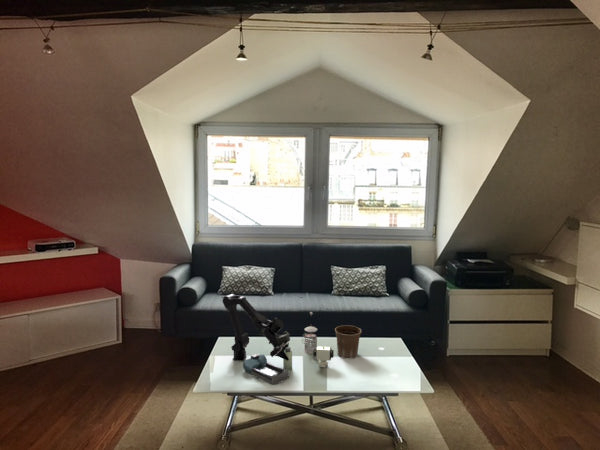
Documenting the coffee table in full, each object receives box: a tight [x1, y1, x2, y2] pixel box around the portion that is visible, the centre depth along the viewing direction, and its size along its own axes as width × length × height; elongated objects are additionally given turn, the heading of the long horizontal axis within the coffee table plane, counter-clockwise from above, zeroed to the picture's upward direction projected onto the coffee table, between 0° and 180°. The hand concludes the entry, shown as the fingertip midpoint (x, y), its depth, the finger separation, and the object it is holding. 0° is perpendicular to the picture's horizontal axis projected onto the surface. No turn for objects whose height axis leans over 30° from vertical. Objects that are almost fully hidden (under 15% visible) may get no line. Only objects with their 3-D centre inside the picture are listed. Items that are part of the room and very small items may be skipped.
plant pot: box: [334, 325, 362, 360], centre depth 272 cm, size 16×16×16 cm
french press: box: [301, 311, 318, 355], centre depth 277 cm, size 10×12×25 cm
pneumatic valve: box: [312, 345, 335, 368], centre depth 256 cm, size 6×12×12 cm, turn 83°
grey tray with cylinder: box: [242, 353, 290, 386], centre depth 245 cm, size 25×12×8 cm, turn 46°
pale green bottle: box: [282, 347, 293, 372], centre depth 252 cm, size 5×5×12 cm
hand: (290, 358), depth 251 cm, fingers closed on pale green bottle, 5 cm apart
